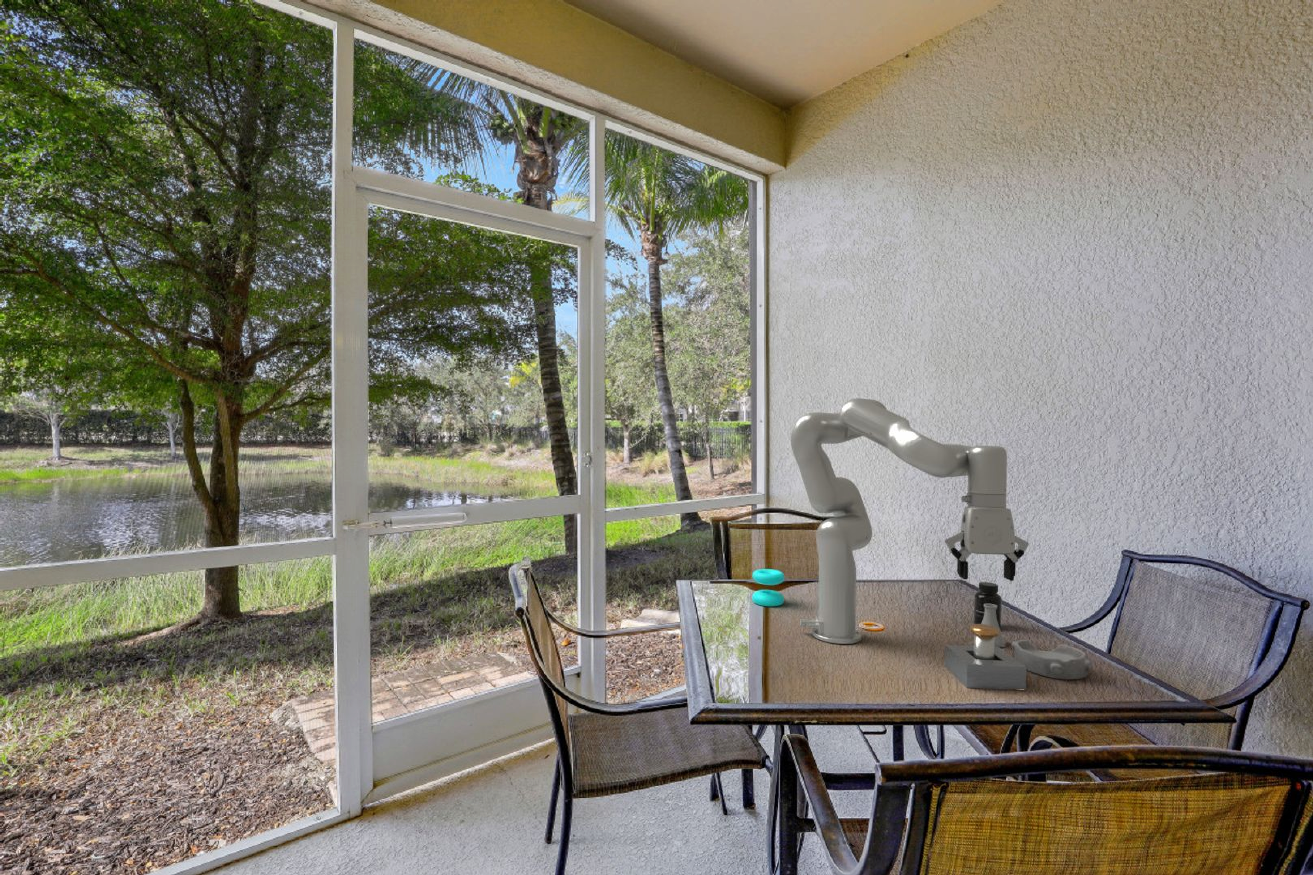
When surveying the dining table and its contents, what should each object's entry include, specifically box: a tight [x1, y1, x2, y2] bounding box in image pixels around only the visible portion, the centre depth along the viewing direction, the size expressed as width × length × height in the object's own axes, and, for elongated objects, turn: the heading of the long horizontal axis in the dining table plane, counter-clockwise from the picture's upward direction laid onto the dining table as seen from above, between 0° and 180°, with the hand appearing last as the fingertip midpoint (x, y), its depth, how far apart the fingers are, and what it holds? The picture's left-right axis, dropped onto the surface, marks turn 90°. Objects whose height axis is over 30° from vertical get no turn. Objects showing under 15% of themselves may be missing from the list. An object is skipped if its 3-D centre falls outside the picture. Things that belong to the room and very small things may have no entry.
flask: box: [981, 604, 1006, 648], centre depth 157 cm, size 7×7×10 cm
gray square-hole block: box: [944, 644, 1027, 691], centre depth 135 cm, size 12×12×5 cm
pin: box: [970, 623, 998, 660], centre depth 135 cm, size 5×5×11 cm
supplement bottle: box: [973, 581, 1003, 629], centre depth 172 cm, size 7×7×12 cm
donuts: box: [751, 568, 785, 608], centre depth 192 cm, size 10×10×10 cm
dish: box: [1011, 639, 1093, 680], centre depth 140 cm, size 14×14×5 cm
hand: (985, 578), depth 134 cm, fingers open, 9 cm apart
